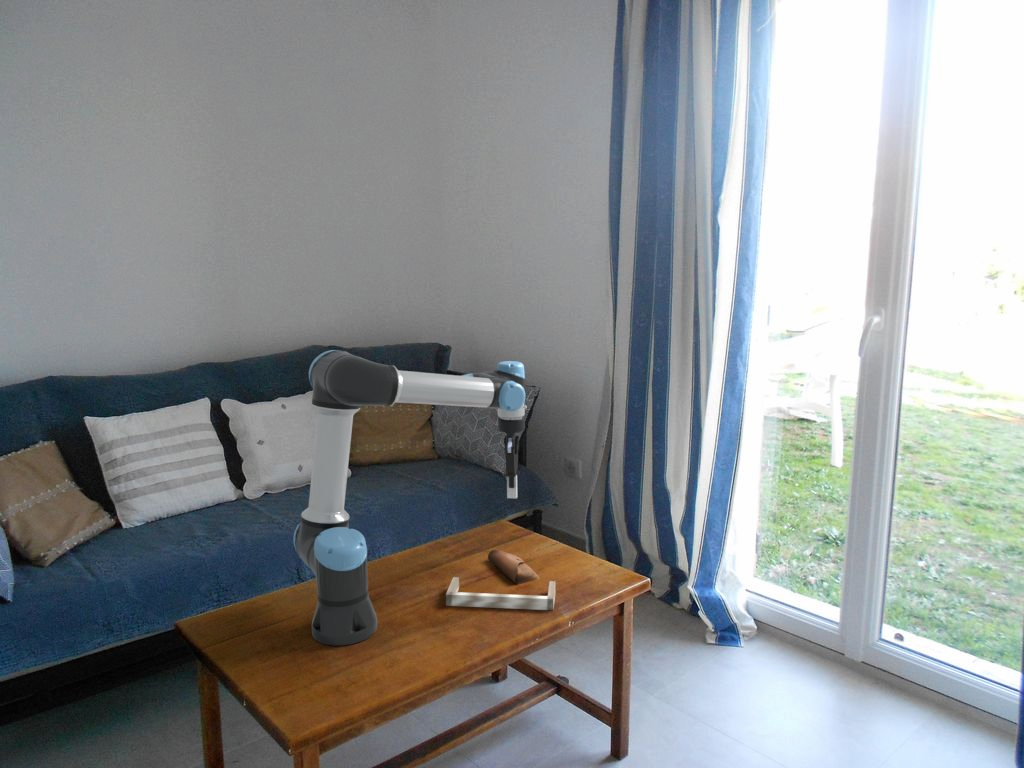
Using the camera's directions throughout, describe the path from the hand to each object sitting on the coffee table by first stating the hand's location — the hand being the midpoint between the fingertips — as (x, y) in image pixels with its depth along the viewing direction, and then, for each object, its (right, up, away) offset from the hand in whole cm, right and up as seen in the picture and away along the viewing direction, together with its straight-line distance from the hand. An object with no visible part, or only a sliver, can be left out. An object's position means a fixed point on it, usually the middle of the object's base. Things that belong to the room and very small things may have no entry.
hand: (512, 497), depth 213 cm
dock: (-3, -23, -22) cm, 31 cm away
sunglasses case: (0, -20, -4) cm, 21 cm away
